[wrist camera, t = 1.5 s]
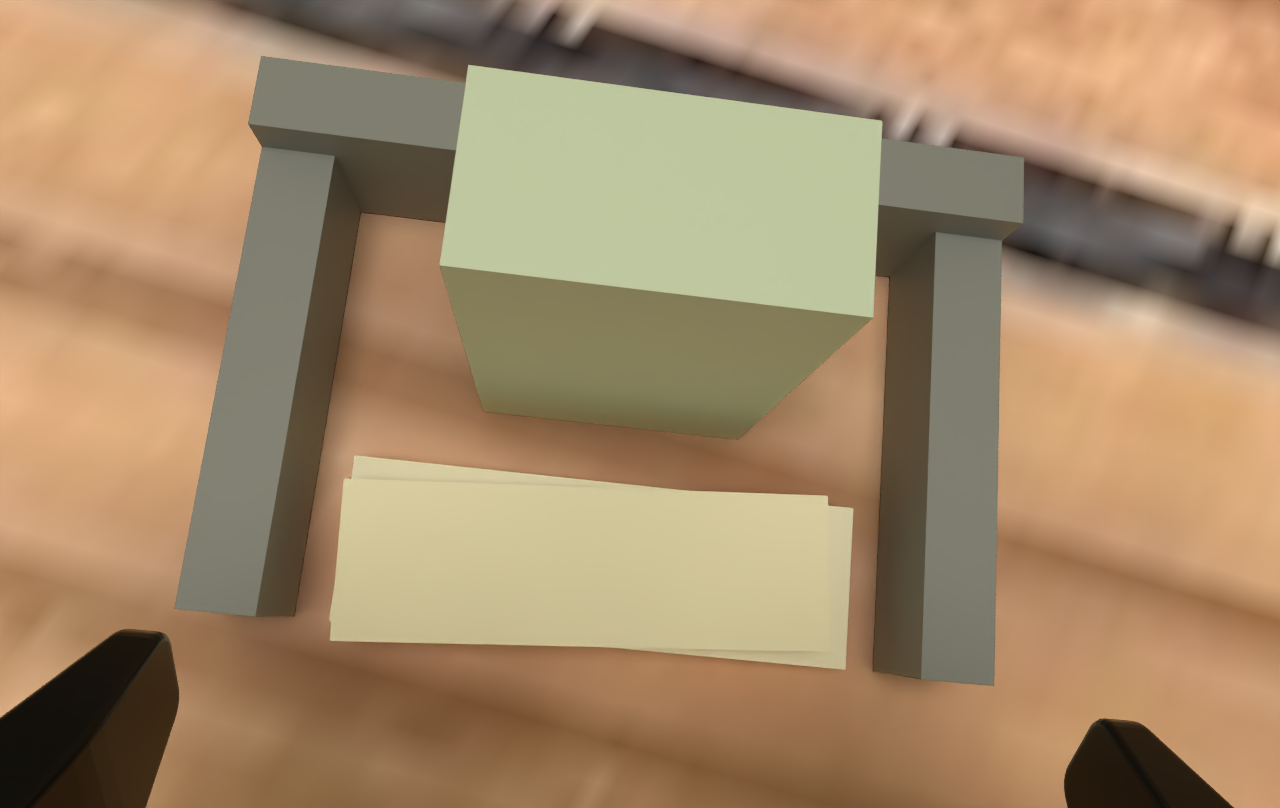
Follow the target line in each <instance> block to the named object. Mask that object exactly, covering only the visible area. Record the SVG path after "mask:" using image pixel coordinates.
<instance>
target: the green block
mask: <svg viewBox="0 0 1280 808" xmlns="http://www.w3.org/2000/svg"><path fill="white" fill-rule="evenodd" d="M881 138H882V121H879V120H872V119H864V118H857V117H850V116H842V115H835V114H827V113H820V112H813V111H805V110H798V109H790V108H783V107H776V106H768V105H761V104H753V103H746V102H739V101H731V100H724V99H717V98H709V97H702V96H694V95H687V94H680V93H672V92H665V91H657V90H650V89H643V88H635V87H628V86H620V85H613V84H606V83H598V82H591V81H583V80H576V79H569V78H561V77H554V76H546V75H539V74H532V73H524V72H517V71H509V70H502V69H495V68H487V67H480V66H472V65H468V72H467V79H466V86H465V93H464V100H463V106H462V113H461V120H460V127H459V134H458V141H457V148H456V155H455V162H454V169H453V176H452V182H451V189H450V196H449V203H448V210H447V217H446V224H445V231H444V238H443V245H442V252H441V258H440V269H441V272H442V275H443V279H444V282H445V285H446V289H447V292H448V295H449V299H450V302H451V305H452V309H453V312H454V315H455V319H456V322H457V325H458V329H459V332H460V335H461V339H462V342H463V345H464V349H465V352H466V355H467V359H468V362H469V365H470V369H471V372H472V375H473V378H474V382H475V385H476V388H477V392H478V395H479V398H480V402H481V405H482V408H483V412H491V413H500V414H509V415H519V416H528V417H537V418H546V419H555V420H564V421H573V422H582V423H591V424H600V425H609V426H618V427H627V428H636V429H645V430H654V431H663V432H673V433H682V434H691V435H700V436H709V437H718V438H727V439H736V440H738V439H739V438H740V437H741V436H742V435H743V434H744V433H745V432H747V431H748V430H749V429H750V428H751V427H752V426H753V425H754V424H755V423H757V422H758V421H759V420H760V419H761V418H762V417H763V416H764V415H766V414H767V413H768V412H769V411H770V410H771V409H772V408H773V407H774V406H776V405H777V404H778V403H779V402H780V401H781V400H782V399H783V398H784V397H786V396H787V395H788V394H789V393H790V392H791V391H792V390H793V389H794V388H796V387H797V386H798V385H799V384H800V383H801V382H802V381H803V380H804V379H806V378H807V377H808V376H809V375H810V374H811V373H812V372H813V371H814V370H816V369H817V368H818V367H819V366H820V365H821V364H822V363H823V362H824V361H826V360H827V359H828V358H829V357H830V356H831V355H832V354H833V353H834V352H836V351H837V350H838V349H839V348H840V347H841V346H842V345H843V344H844V343H846V342H847V341H848V340H849V339H850V338H851V337H852V336H853V335H854V334H856V333H857V332H858V331H859V330H860V329H861V328H862V327H863V326H864V325H866V324H867V323H868V322H869V321H870V320H871V319H872V318H873V312H874V291H875V269H876V247H877V225H878V204H879V182H880V160H881Z"/></svg>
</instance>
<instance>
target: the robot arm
mask: <svg viewBox="0 0 1280 808" xmlns="http://www.w3.org/2000/svg"><path fill="white" fill-rule="evenodd" d="M178 704H179V687H178V682H177V676H176V670H175V664H174V659H173V653H172V647H171V643H170V640H169V638H168V637H167V635H166V634H164V633H162V632H157V631H147V630H136V629H123V630H120V631H118V632H115V633H114V634H112V635H111V636H109V637H108V638H107V639H105V640H104V641H103V642H101V643H100V644H98V645H97V646H96V647H94V648H93V649H92V650H90V651H89V652H88V653H86V654H85V655H84V656H82V657H81V658H80V659H78V660H77V661H76V662H74V663H73V664H72V665H70V666H69V667H68V668H66V669H65V670H64V671H62V672H61V673H60V674H58V675H57V676H56V677H54V678H53V679H52V680H50V681H49V682H48V683H46V684H45V685H43V686H42V687H41V688H39V689H38V690H37V691H35V692H34V693H33V694H31V695H30V696H29V697H27V698H26V699H25V700H23V701H22V702H21V703H19V704H18V705H17V706H15V707H14V708H13V709H11V710H10V711H9V712H7V713H6V714H5V715H3V716H2V717H1V718H0V808H146V805H147V802H148V799H149V796H150V793H151V790H152V787H153V784H154V781H155V778H156V775H157V772H158V769H159V766H160V763H161V760H162V757H163V754H164V751H165V748H166V745H167V742H168V739H169V736H170V733H171V730H172V727H173V724H174V721H175V717H176V714H177V709H178ZM1064 791H1065V797H1066V802H1067V807H1068V808H1234V807H1232V806H1231V805H1230V804H1229V803H1228V802H1227V801H1226V800H1225V799H1224V798H1223V797H1222V796H1221V795H1219V794H1218V793H1217V792H1216V791H1215V790H1214V789H1213V788H1212V787H1211V786H1210V785H1209V784H1208V783H1206V782H1205V781H1204V780H1203V779H1202V778H1201V777H1200V776H1199V775H1198V774H1197V773H1196V772H1194V771H1193V770H1192V769H1191V768H1190V767H1189V766H1188V765H1187V764H1186V763H1185V762H1184V761H1183V760H1181V759H1180V758H1179V757H1178V756H1177V755H1176V754H1175V753H1174V752H1173V751H1172V750H1171V749H1170V748H1168V747H1167V746H1166V745H1165V744H1164V743H1163V742H1162V741H1161V740H1160V739H1159V738H1158V737H1156V736H1155V735H1154V734H1153V733H1152V732H1151V731H1150V730H1149V729H1148V728H1146V727H1145V726H1144V725H1142V724H1140V723H1138V722H1134V721H1127V720H1116V719H1105V718H1104V719H1099V720H1097V721H1096V722H1094V723H1093V724H1092V725H1091V727H1090V728H1089V730H1088V732H1087V734H1086V735H1085V737H1084V739H1083V741H1082V742H1081V744H1080V746H1079V748H1078V749H1077V751H1076V753H1075V755H1074V756H1073V758H1072V760H1071V762H1070V763H1069V765H1068V767H1067V770H1066V774H1065V779H1064Z"/></svg>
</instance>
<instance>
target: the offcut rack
mask: <svg viewBox="0 0 1280 808" xmlns="http://www.w3.org/2000/svg"><path fill="white" fill-rule="evenodd" d="M465 86H466V83H460V82H452V81H445V80H437V79H430V78H422V77H415V76H407V75H400V74H392V73H385V72H377V71H370V70H362V69H355V68H347V67H340V66H332V65H325V64H317V63H310V62H302V61H295V60H287V59H280V58H272V57H265V56H261V60H260V65H259V70H258V75H257V81H256V86H255V91H254V96H253V101H252V106H251V111H250V117H249V122H248V124H249V126H250V128H251V129H252V131H253V133H254V134H255V136H256V138H257V139H258V141H259V142H260V144H261V146H262V149H261V155H260V160H259V165H258V170H257V176H256V181H255V186H254V192H253V197H252V202H251V207H250V213H249V218H248V223H247V228H246V234H245V239H244V244H243V249H242V255H241V260H240V265H239V271H238V276H237V281H236V286H235V292H234V297H233V302H232V307H231V313H230V318H229V323H228V328H227V334H226V339H225V344H224V349H223V355H222V360H221V365H220V371H219V376H218V381H217V386H216V392H215V397H214V402H213V407H212V413H211V418H210V423H209V428H208V434H207V439H206V444H205V450H204V455H203V460H202V465H201V471H200V476H199V481H198V486H197V492H196V497H195V502H194V507H193V513H192V518H191V523H190V529H189V534H188V539H187V544H186V550H185V555H184V560H183V565H182V571H181V576H180V581H179V586H178V592H177V597H176V602H175V608H174V609H180V610H190V611H201V612H212V613H222V614H233V615H243V616H254V617H265V616H294V614H295V608H296V601H297V595H298V589H299V583H300V577H301V571H302V565H303V559H304V553H305V547H306V541H307V535H308V529H309V522H310V516H311V510H312V504H313V498H314V492H315V486H316V480H317V474H318V468H319V462H320V456H321V449H322V443H323V437H324V431H325V425H326V419H327V413H328V407H329V401H330V395H331V389H332V383H333V377H334V370H335V364H336V358H337V352H338V346H339V340H340V334H341V328H342V322H343V316H344V310H345V304H346V298H347V291H348V285H349V279H350V273H351V267H352V261H353V255H354V249H355V243H356V237H357V231H358V225H359V218H360V212H366V213H374V214H382V215H390V216H398V217H406V218H414V219H422V220H431V221H439V222H446V217H447V210H448V203H449V196H450V189H451V182H452V176H453V169H454V162H455V155H456V148H457V141H458V134H459V127H460V120H461V113H462V106H463V100H464V93H465ZM1023 192H1024V158H1023V157H1016V156H1008V155H1000V154H993V153H985V152H978V151H970V150H963V149H955V148H948V147H940V146H933V145H925V144H918V143H910V142H903V141H895V140H888V139H881V160H880V182H879V204H878V225H877V247H876V269H875V275H877V276H885V277H890V283H889V306H888V330H887V353H886V377H885V400H884V423H883V447H882V470H881V493H880V517H879V540H878V564H877V587H876V610H875V634H874V657H873V671H877V672H883V673H888V674H894V675H900V676H905V677H911V678H917V679H923V680H934V681H945V682H955V683H966V684H976V685H987V686H994V661H995V604H996V547H997V491H998V434H999V377H1000V321H1001V264H1002V240H1003V239H1004V238H1006V237H1007V236H1008V235H1009V234H1011V233H1012V232H1013V231H1014V230H1015V229H1017V228H1018V227H1019V226H1020V225H1022V224H1023ZM852 526H853V508H846V507H837V506H828V496H820V495H792V494H764V493H736V492H708V491H686V490H677V489H667V488H658V487H648V486H639V485H629V484H620V483H611V482H601V481H592V480H582V479H573V478H563V477H554V476H545V475H535V474H526V473H516V472H507V471H497V470H488V469H479V468H469V467H460V466H450V465H441V464H431V463H422V462H413V461H403V460H394V459H384V458H375V457H365V456H356V455H355V457H354V463H353V470H352V476H351V479H344V482H343V493H342V505H341V516H340V528H339V540H338V551H337V563H336V574H335V584H334V591H333V597H332V604H331V610H330V616H329V621H331V632H330V641H355V642H401V643H446V644H491V645H537V646H582V647H610V648H621V649H632V650H642V651H653V652H663V653H674V654H685V655H695V656H706V657H716V658H727V659H738V660H748V661H759V662H769V663H780V664H791V665H801V666H812V667H823V668H833V669H844V670H846V649H847V629H848V608H849V587H850V567H851V546H852Z"/></svg>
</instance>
